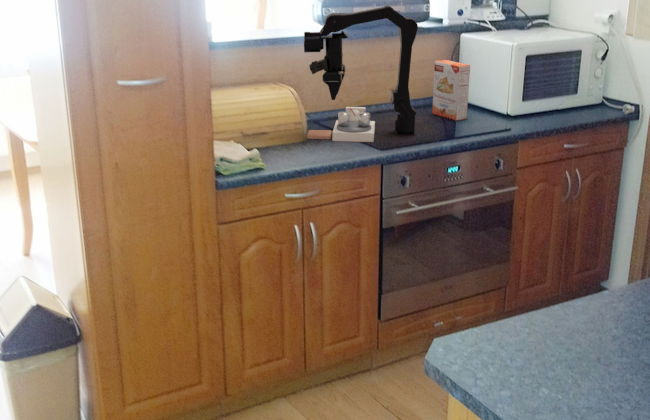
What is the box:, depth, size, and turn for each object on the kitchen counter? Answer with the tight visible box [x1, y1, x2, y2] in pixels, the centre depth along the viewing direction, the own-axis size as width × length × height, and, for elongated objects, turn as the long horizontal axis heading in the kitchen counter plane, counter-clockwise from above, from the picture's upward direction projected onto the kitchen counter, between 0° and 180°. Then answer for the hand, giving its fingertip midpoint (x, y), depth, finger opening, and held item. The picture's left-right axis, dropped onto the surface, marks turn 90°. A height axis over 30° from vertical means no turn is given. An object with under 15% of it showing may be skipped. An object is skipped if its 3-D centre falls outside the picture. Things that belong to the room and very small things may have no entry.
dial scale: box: [331, 106, 376, 143], centre depth 259 cm, size 14×18×8 cm
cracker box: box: [431, 59, 471, 122], centre depth 282 cm, size 14×6×21 cm, turn 32°
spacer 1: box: [337, 111, 350, 127], centre depth 257 cm, size 4×4×4 cm
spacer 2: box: [358, 112, 371, 128], centre depth 256 cm, size 4×4×4 cm
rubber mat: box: [306, 129, 333, 140], centre depth 259 cm, size 8×8×1 cm
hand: (334, 97), depth 258 cm, fingers open, 9 cm apart
